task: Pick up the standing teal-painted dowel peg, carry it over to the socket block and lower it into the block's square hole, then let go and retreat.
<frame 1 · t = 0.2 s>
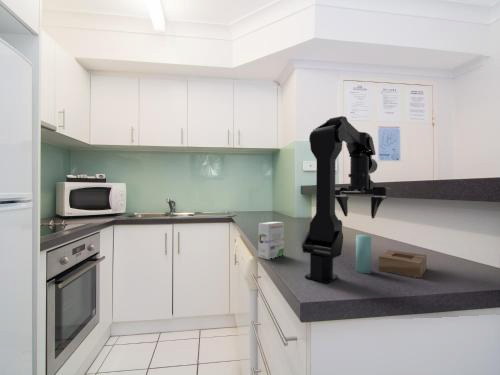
hand: (359, 217, 86), 14 cm above the counter, fingers open, 9 cm apart
peg: (363, 271, 72), on the counter
socket block: (403, 269, 74), on the counter
ink box: (271, 257, 87), on the counter
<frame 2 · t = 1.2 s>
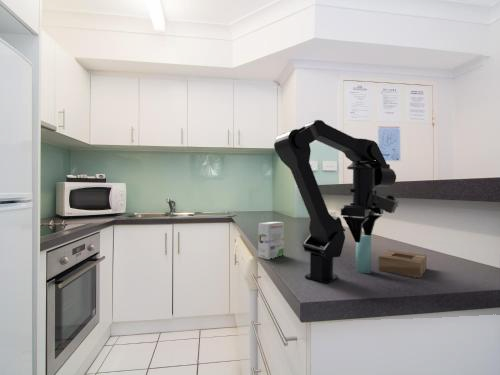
hand: (363, 240, 72), 9 cm above the counter, fingers open, 9 cm apart
nothing on the counter moved.
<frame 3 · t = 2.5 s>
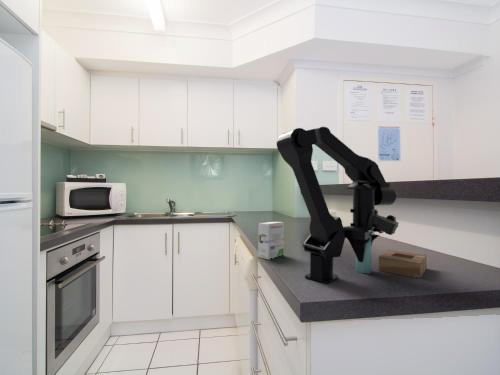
hand: (363, 260, 72), 3 cm above the counter, fingers closed on peg, 4 cm apart
peg: (363, 271, 72), on the counter, touching gripper
everything else where it was.
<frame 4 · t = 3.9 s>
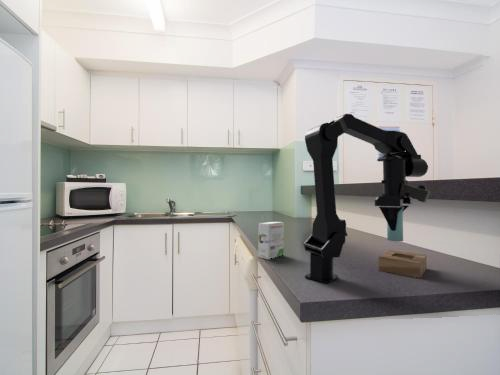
hand: (395, 229, 74), 12 cm above the counter, fingers closed on peg, 4 cm apart
peg: (395, 240, 74), point 9 cm above the counter, touching gripper
everything else where it was.
when the fingers open (5 cm above the counter, at t = 5.4 s): peg drops 2 cm, resting in socket block.
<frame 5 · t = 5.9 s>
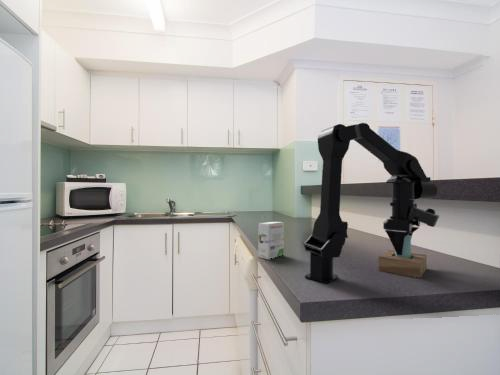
hand: (402, 252, 74), 5 cm above the counter, fingers open, 9 cm apart
peg: (402, 269, 74), resting in socket block
everything else where it was.
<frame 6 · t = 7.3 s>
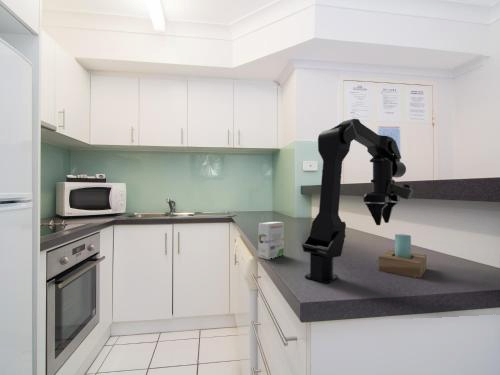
hand: (382, 223, 83), 12 cm above the counter, fingers open, 9 cm apart
nothing on the counter moved.
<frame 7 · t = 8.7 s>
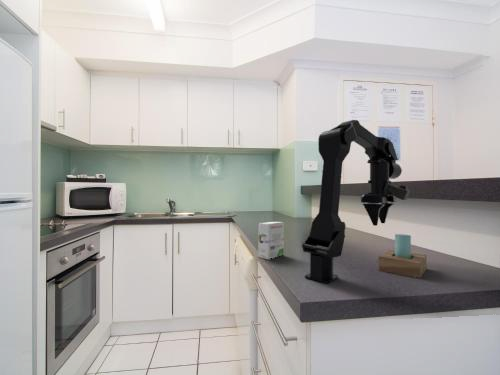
hand: (379, 224, 84), 12 cm above the counter, fingers open, 9 cm apart
nothing on the counter moved.
at the end: peg 0.0 cm off-centre on the socket block, point 0.0 cm above the socket block's base; peg tilted 0°; the gripper is holding nothing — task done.
